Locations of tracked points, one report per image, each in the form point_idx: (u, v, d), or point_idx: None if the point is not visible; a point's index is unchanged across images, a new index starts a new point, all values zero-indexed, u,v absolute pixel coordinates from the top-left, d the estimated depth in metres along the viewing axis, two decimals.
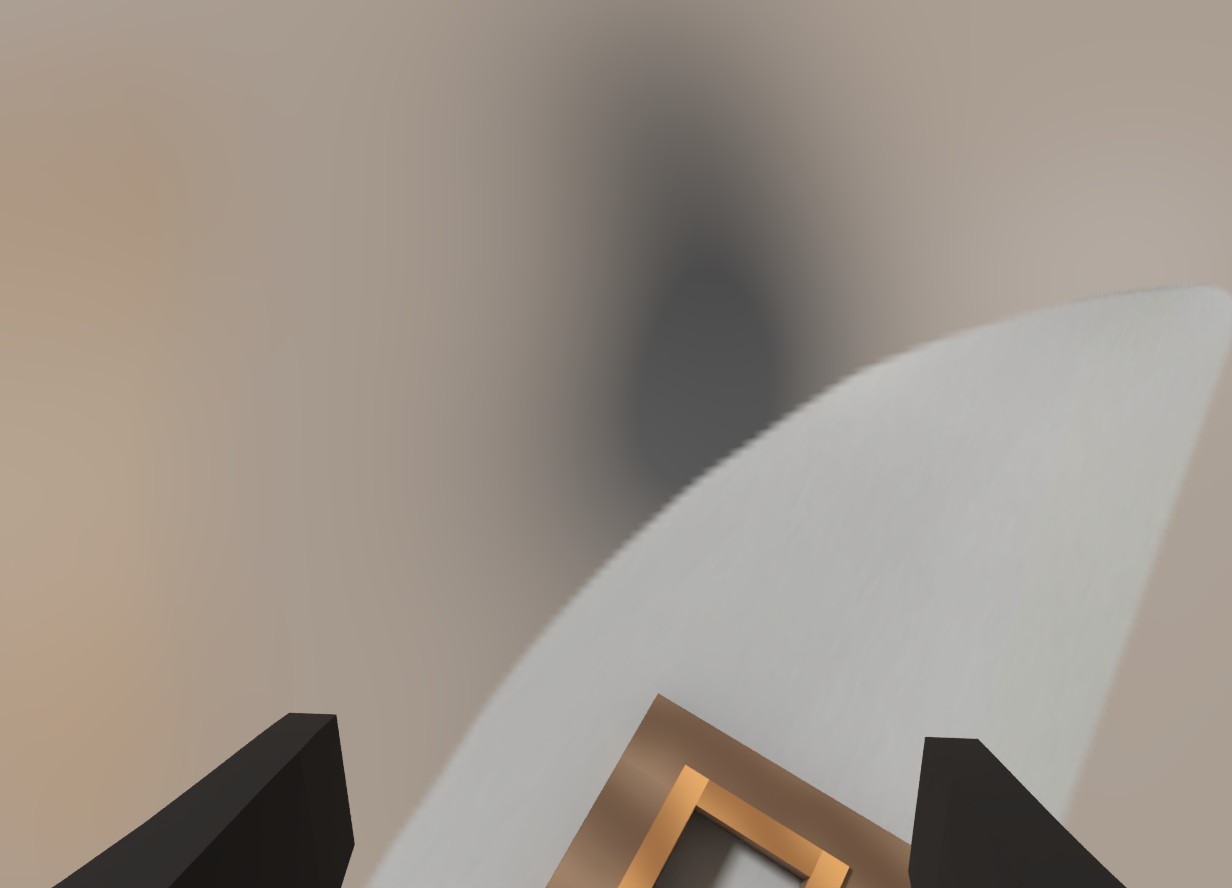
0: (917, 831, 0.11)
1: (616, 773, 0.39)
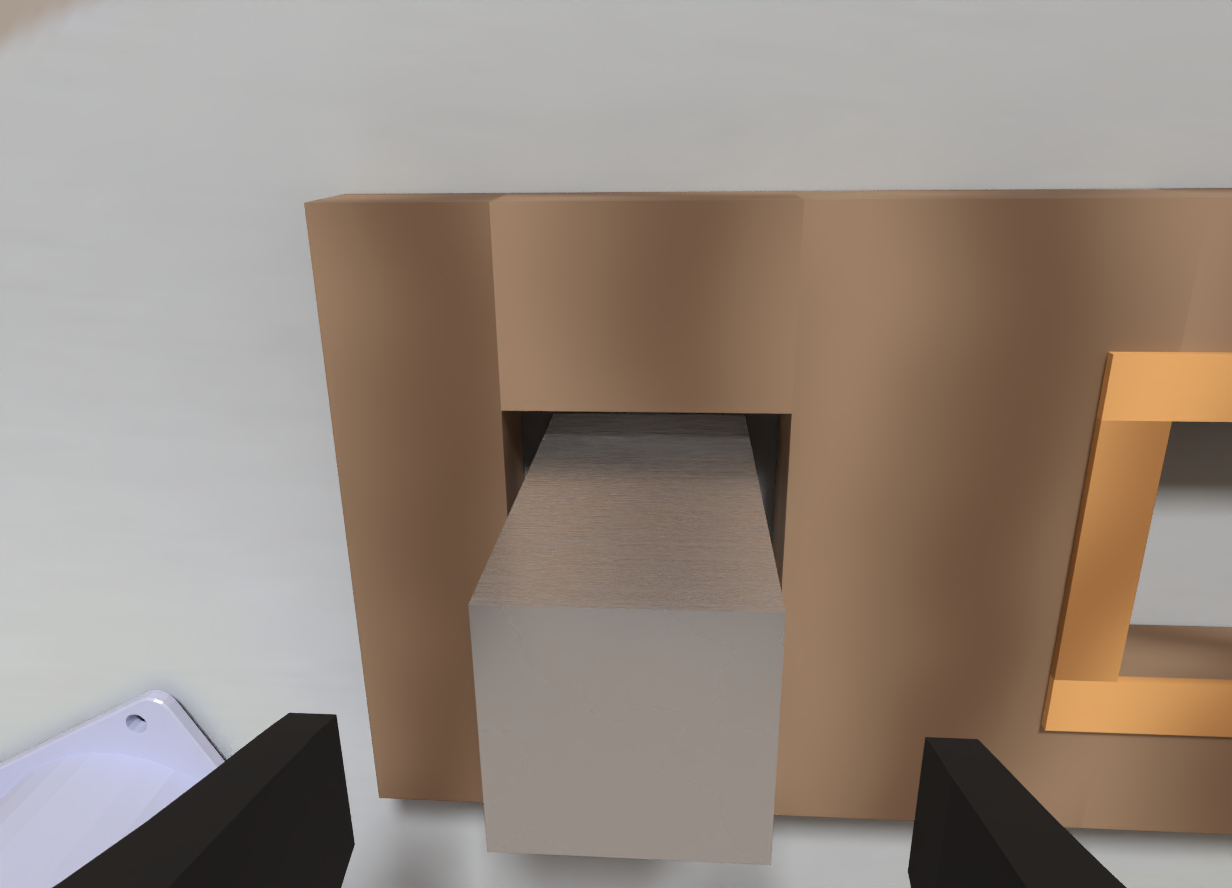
0: (917, 831, 0.11)
1: None
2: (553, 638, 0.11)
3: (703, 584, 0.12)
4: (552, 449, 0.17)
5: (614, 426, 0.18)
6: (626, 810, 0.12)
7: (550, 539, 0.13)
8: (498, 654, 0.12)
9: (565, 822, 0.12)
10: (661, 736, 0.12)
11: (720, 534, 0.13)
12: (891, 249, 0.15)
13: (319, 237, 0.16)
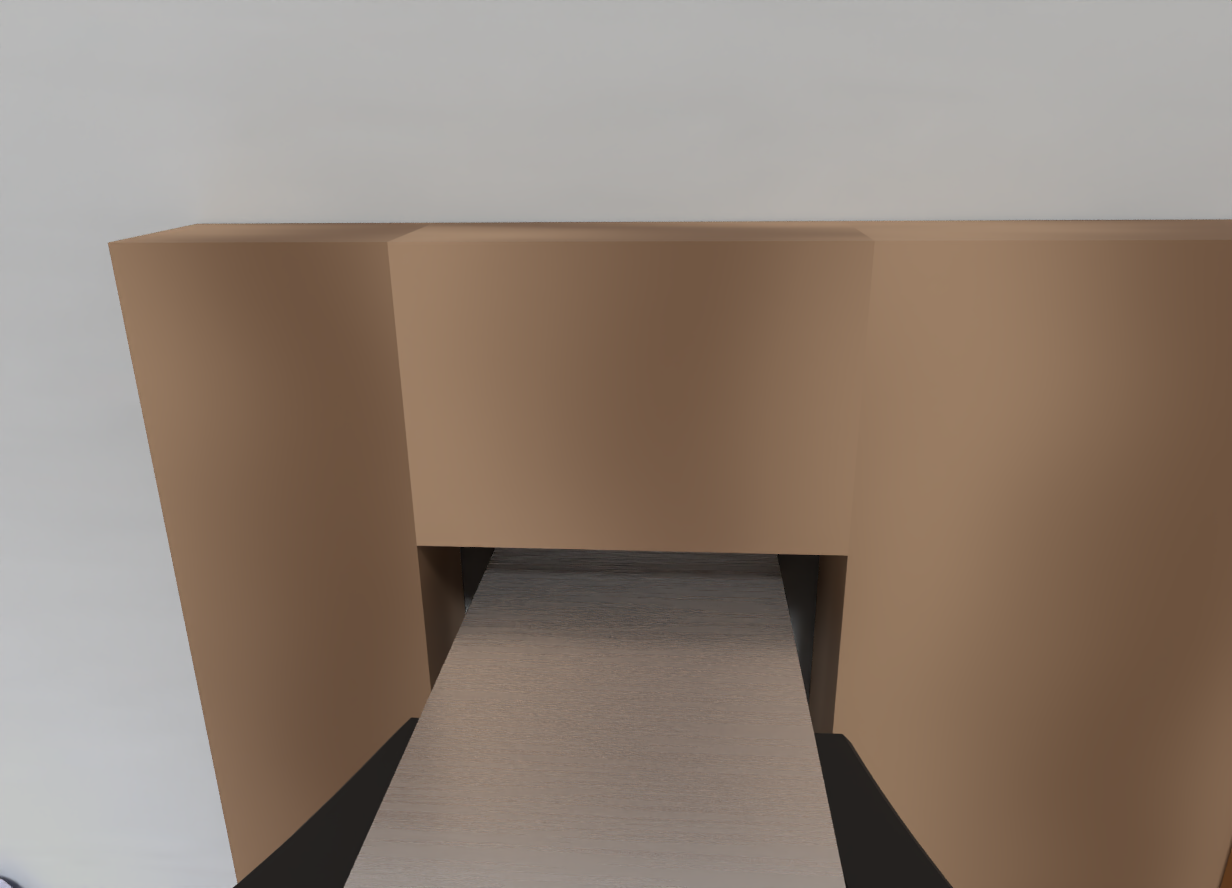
0: None
1: None
2: None
3: None
4: (492, 604, 0.11)
5: (586, 556, 0.13)
6: None
7: (459, 831, 0.08)
8: None
9: None
10: None
11: (749, 820, 0.08)
12: (1009, 316, 0.10)
13: (134, 294, 0.11)
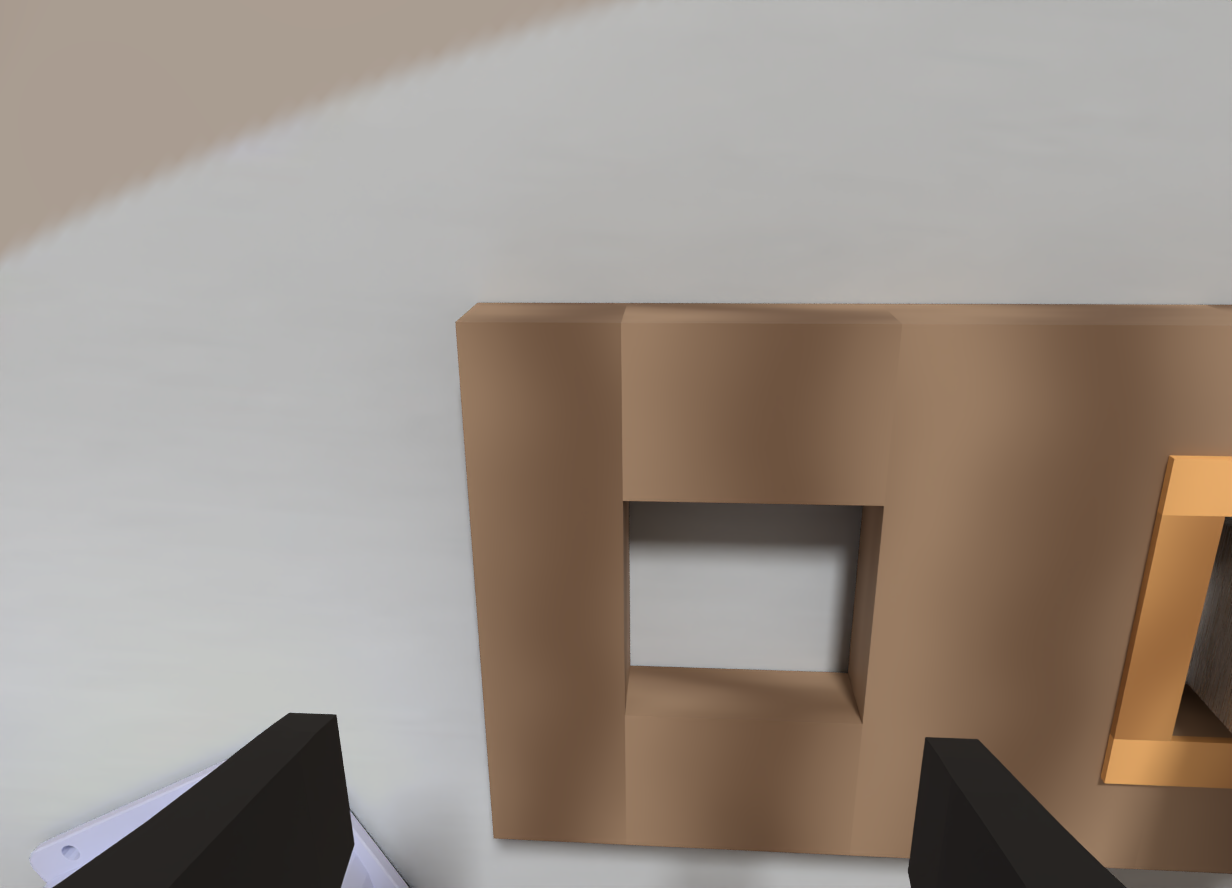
0: (917, 831, 0.11)
1: None
2: None
3: None
4: None
5: None
6: None
7: None
8: None
9: None
10: None
11: None
12: (978, 366, 0.17)
13: (467, 351, 0.18)
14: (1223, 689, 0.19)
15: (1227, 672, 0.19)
